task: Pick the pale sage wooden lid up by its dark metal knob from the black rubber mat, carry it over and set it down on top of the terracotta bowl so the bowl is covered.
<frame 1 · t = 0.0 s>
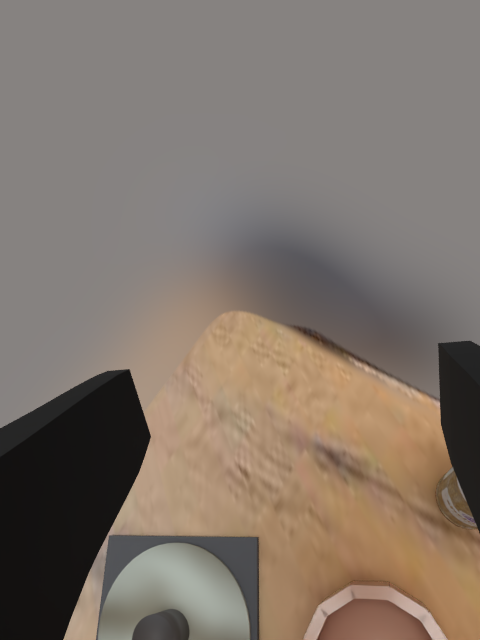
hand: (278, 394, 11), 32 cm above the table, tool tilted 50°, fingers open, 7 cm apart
sprinkles bottle: (465, 498, 37), on the table
lid: (174, 630, 38), resting on mat
mat: (176, 629, 38), on the table
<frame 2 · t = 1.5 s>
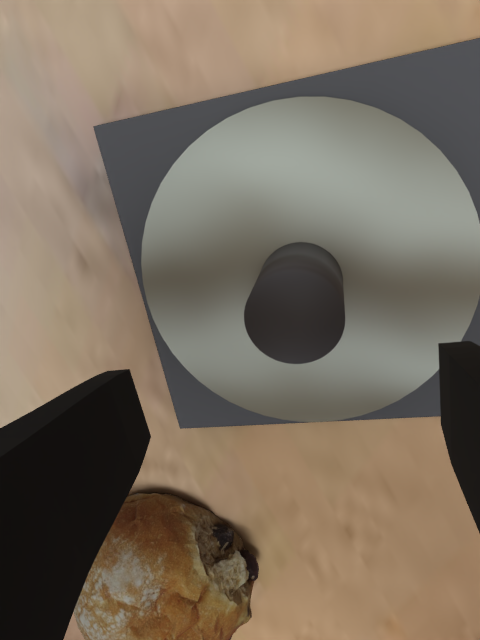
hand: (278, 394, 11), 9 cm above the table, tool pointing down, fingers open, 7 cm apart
bread roll: (175, 545, 28), on the table
lid: (301, 277, 18), resting on mat
mat: (302, 273, 19), on the table
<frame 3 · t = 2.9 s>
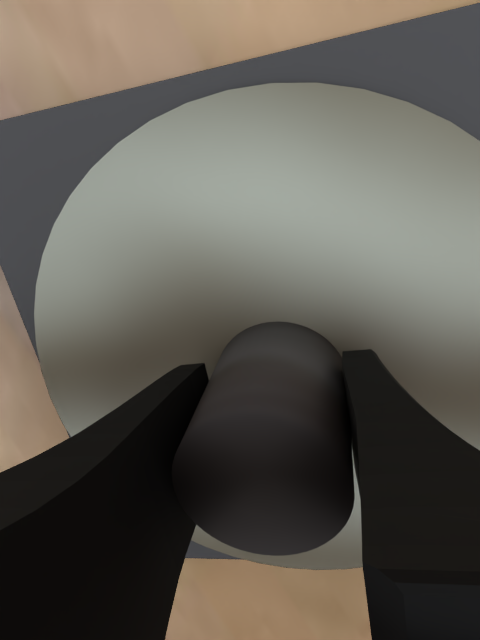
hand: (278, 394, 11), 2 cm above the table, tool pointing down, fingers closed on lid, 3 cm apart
lid: (283, 367, 12), resting on mat, touching gripper
mat: (285, 357, 12), on the table
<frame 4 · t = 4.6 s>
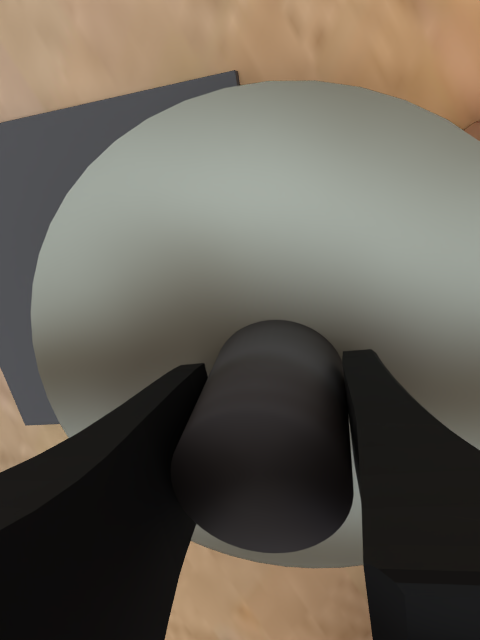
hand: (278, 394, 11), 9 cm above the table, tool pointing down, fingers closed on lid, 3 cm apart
lid: (281, 365, 12), point 8 cm above the table, touching gripper
mat: (112, 282, 20), on the table
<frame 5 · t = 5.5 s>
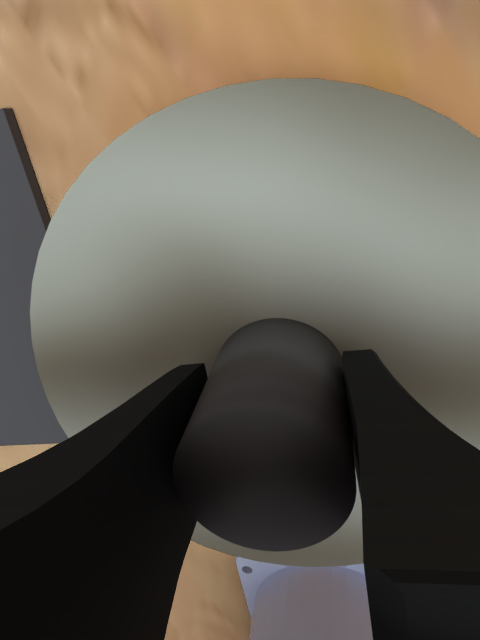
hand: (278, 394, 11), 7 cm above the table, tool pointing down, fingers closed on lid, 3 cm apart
lid: (281, 364, 12), point 6 cm above the table, touching gripper
when the fingers open (7 cm above the table, at t = 6.2 s): lid drops 1 cm, resting on bowl.
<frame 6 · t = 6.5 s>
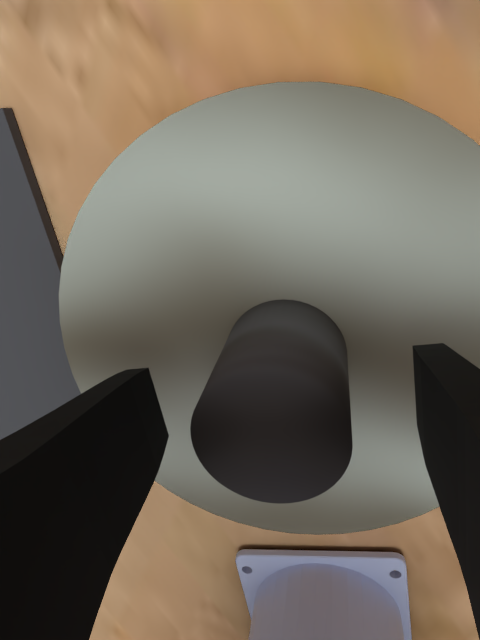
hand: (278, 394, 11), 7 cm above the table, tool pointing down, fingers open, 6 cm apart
lid: (288, 343, 13), point 4 cm above the table, touching bowl
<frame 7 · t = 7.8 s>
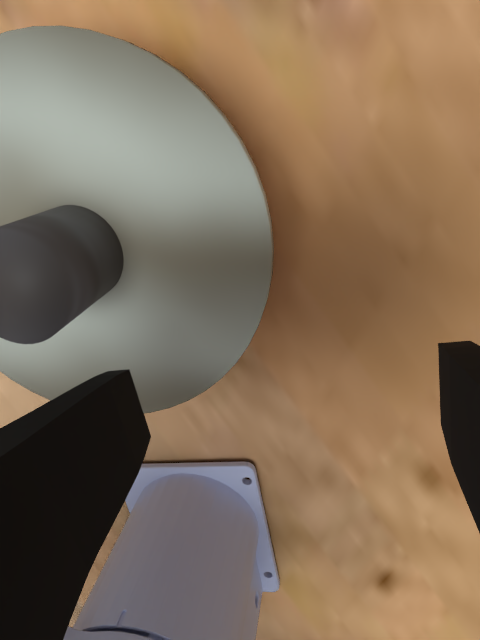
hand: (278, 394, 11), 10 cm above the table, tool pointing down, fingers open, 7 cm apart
lid: (88, 247, 16), point 4 cm above the table, touching bowl
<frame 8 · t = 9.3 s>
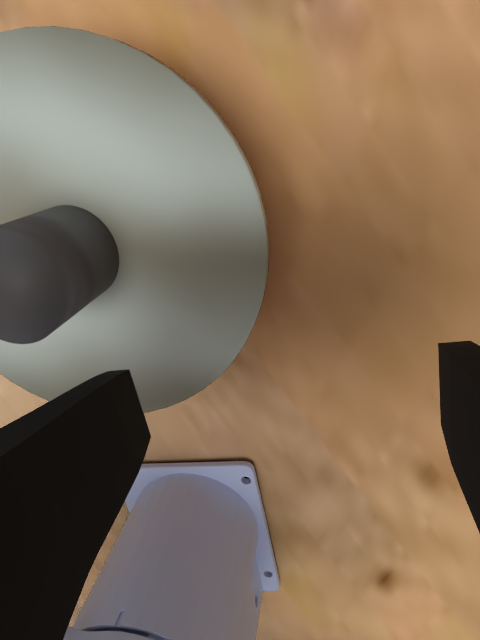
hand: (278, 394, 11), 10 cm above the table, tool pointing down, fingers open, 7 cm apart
lid: (84, 247, 16), point 4 cm above the table, touching bowl
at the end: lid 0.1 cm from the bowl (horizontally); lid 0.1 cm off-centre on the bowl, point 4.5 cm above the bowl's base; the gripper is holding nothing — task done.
